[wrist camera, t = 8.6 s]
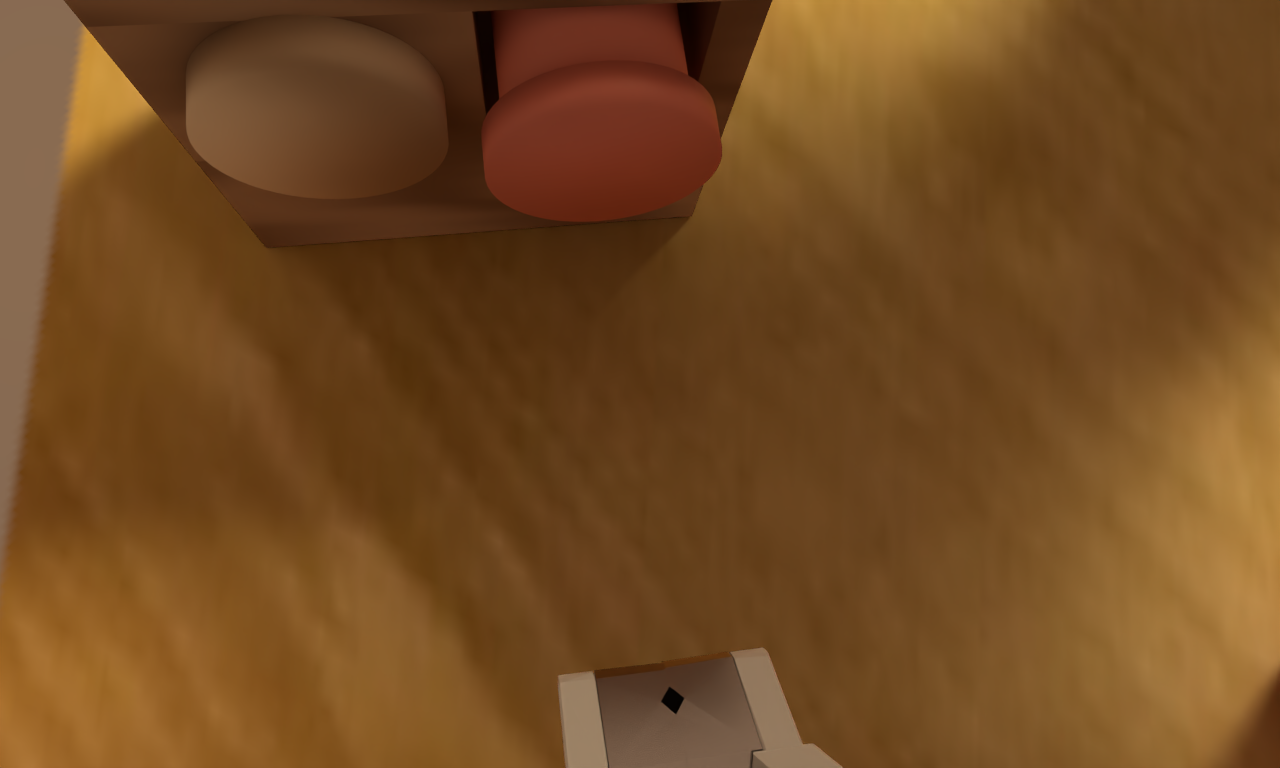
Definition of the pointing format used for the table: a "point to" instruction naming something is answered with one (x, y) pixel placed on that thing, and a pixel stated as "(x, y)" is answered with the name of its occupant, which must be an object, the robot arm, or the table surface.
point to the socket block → (361, 103)
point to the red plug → (596, 113)
